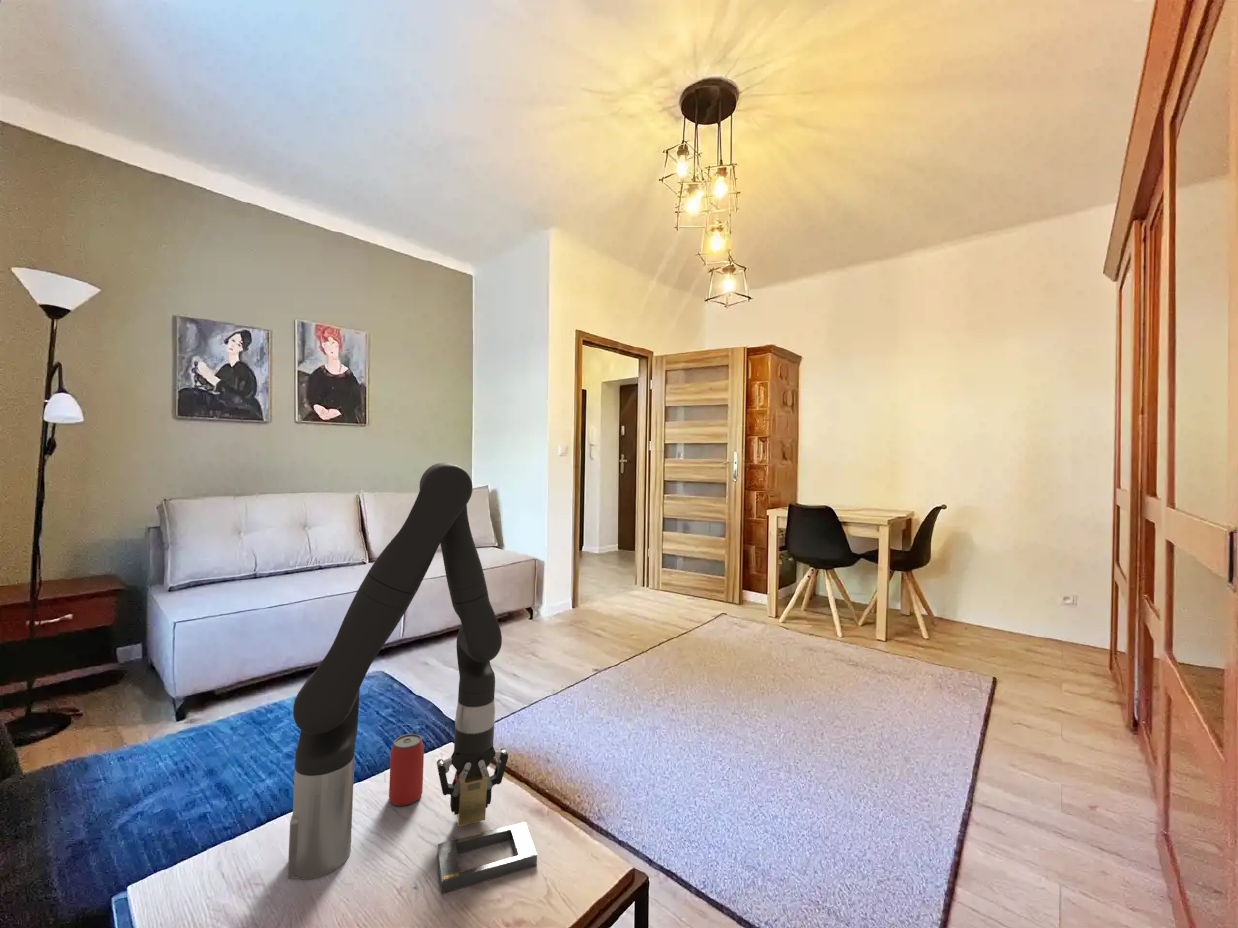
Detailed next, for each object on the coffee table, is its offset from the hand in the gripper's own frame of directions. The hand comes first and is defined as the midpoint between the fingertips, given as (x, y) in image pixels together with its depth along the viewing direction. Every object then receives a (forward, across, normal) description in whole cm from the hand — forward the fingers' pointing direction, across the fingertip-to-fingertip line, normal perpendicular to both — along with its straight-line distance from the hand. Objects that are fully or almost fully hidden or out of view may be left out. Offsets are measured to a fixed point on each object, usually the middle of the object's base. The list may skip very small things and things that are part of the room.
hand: (470, 808), depth 100 cm
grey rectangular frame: (+3, +1, -11) cm, 12 cm away
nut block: (+1, 0, 0) cm, 1 cm away
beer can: (+3, -12, +13) cm, 17 cm away
